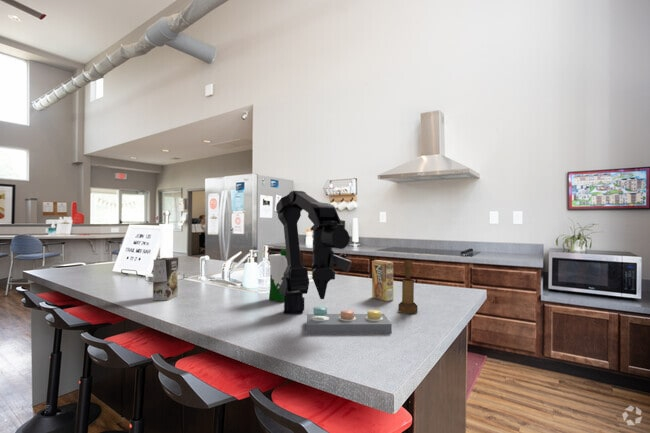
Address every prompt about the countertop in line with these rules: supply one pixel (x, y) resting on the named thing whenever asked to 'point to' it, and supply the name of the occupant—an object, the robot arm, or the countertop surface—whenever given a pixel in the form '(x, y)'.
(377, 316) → the mustard button
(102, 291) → the countertop surface
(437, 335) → the countertop surface
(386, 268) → the candy box
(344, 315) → the terracotta button
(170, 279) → the coffee box
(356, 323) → the button console
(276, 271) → the milk carton
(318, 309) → the teal button
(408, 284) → the brown stepped post
